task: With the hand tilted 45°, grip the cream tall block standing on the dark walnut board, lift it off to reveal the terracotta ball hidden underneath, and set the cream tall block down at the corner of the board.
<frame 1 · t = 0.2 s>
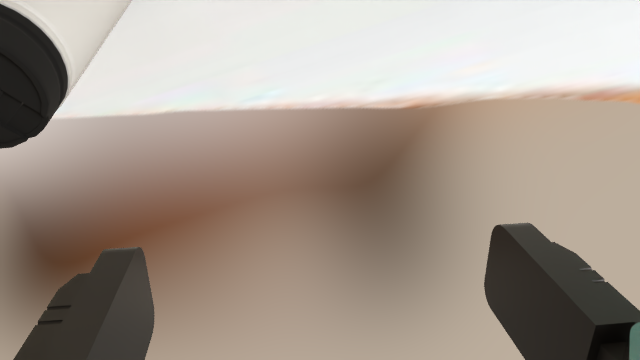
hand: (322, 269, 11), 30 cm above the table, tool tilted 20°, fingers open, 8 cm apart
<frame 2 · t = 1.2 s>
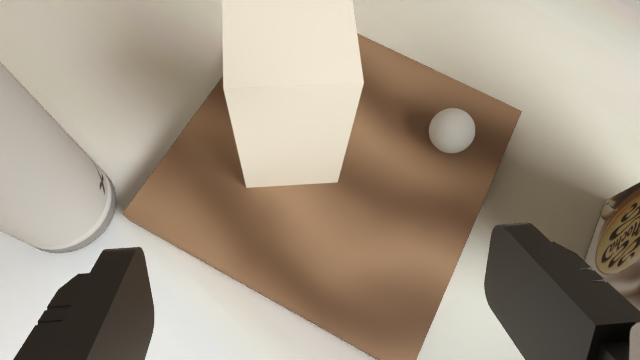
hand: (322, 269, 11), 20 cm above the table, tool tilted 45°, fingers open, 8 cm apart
cream tall block: (289, 150, 33), point 1 cm above the table, touching board
travel mug: (71, 205, 32), on the table
coffee box: (627, 274, 33), on the table
board: (333, 167, 34), on the table
grey ball: (445, 140, 34), point 1 cm above the table, touching board
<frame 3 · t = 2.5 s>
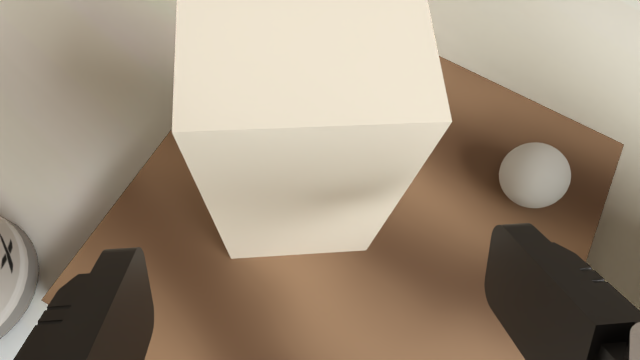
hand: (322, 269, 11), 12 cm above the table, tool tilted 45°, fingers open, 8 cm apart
cream tall block: (296, 201, 22), point 1 cm above the table, touching board
board: (358, 223, 24), on the table
grey ball: (519, 187, 23), point 1 cm above the table, touching board
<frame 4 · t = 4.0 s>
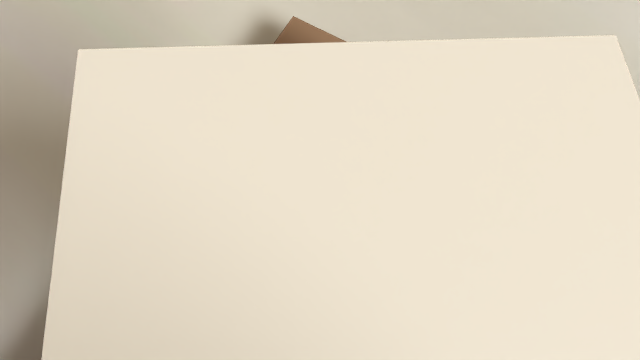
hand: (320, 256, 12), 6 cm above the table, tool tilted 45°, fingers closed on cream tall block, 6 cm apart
cream tall block: (315, 342, 16), point 2 cm above the table, touching board, gripper
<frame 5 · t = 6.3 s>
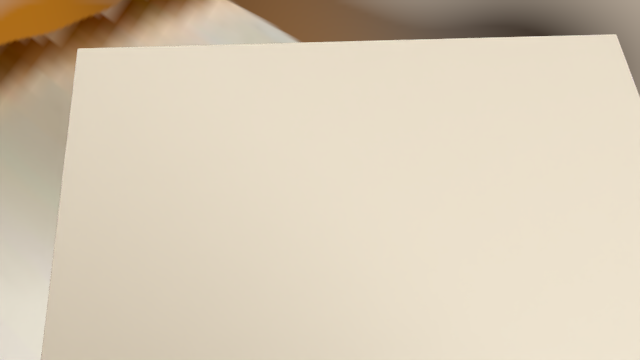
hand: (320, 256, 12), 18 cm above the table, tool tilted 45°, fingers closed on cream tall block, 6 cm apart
cream tall block: (315, 341, 16), point 13 cm above the table, touching gripper
when the fingers open (8 cm above the table, at t = 8.6 s): cream tall block drops 1 cm, resting on board.
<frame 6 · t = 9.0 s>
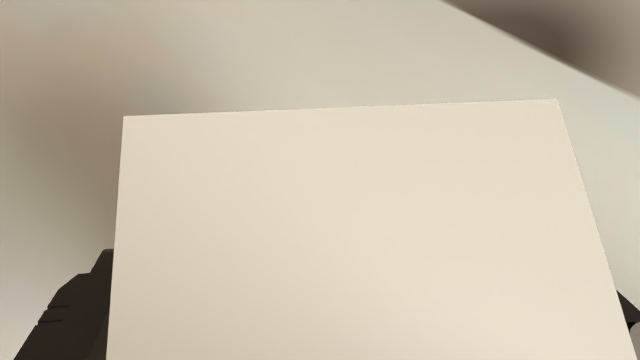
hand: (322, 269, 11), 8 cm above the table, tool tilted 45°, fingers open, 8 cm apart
cream tall block: (314, 345, 17), point 1 cm above the table, touching board
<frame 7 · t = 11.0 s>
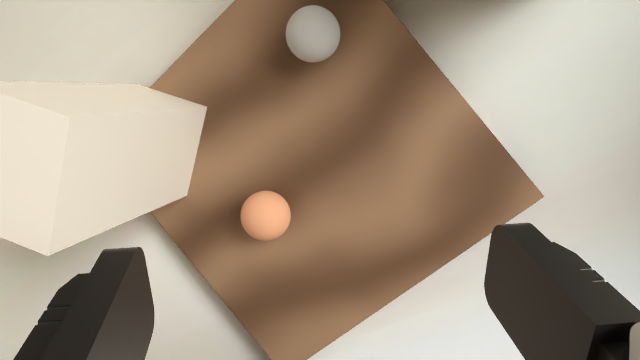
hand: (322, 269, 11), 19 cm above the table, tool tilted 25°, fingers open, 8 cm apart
cream tall block: (162, 140, 31), point 1 cm above the table, touching board
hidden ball: (273, 209, 30), point 1 cm above the table, touching board
board: (304, 164, 31), on the table
grey ball: (319, 37, 28), point 1 cm above the table, touching board
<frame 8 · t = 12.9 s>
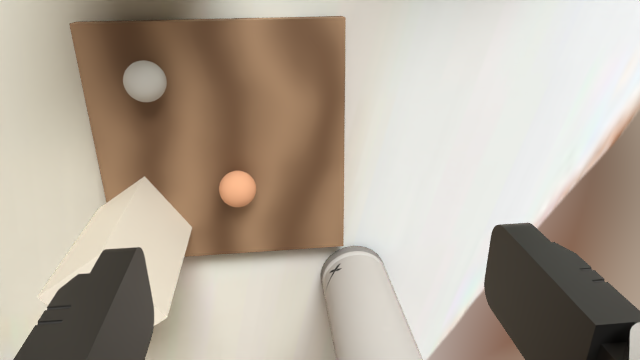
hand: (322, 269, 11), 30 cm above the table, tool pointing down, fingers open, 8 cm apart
cream tall block: (146, 218, 41), point 1 cm above the table, touching board
travel mug: (350, 271, 48), on the table
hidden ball: (238, 181, 41), point 1 cm above the table, touching board
board: (224, 142, 41), on the table
grey ball: (149, 77, 37), point 1 cm above the table, touching board
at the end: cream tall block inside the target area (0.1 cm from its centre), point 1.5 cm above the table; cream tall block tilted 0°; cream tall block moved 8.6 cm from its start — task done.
